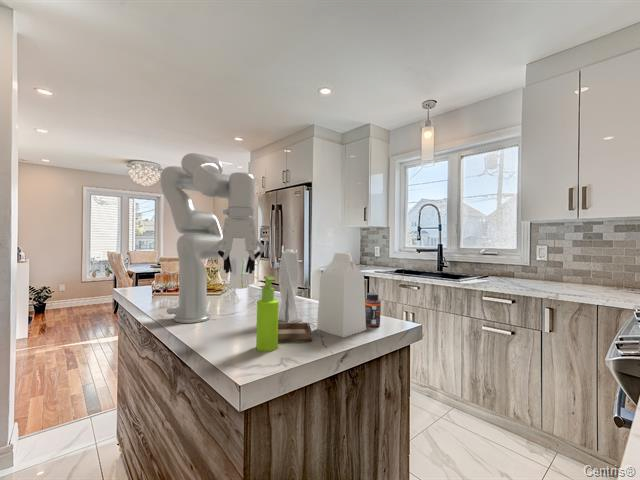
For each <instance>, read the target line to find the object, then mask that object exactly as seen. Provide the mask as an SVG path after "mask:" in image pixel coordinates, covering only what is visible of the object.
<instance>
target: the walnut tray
mask: <svg viewBox="0 0 640 480" xmlns="http://www.w3.org/2000/svg"><path fill="white" fill-rule="evenodd" d="M312 331H313V330H312V328H311V324H310V322H298V323H278V343H302V342H303V343H309V342H313V332H312Z"/></svg>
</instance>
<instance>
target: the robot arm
mask: <svg viewBox="0 0 640 480" xmlns="http://www.w3.org/2000/svg"><path fill="white" fill-rule="evenodd" d="M180 164H181V166H176V165H175V166H174V165H173V166H172V165H171V166H167V167H164V168H163V169H162V170H161V171H160V177H159V178H160V181H159V182H160V188H161V192H162V193H163V197H165V198H164V199H166V201H167V203H168V205H169V207H170V212H171V214H172V219H173V222H174V225H175V229H176V230H177V232H178V233H180V234H181V235H180V236H179V237H178V239H177V241H176V250H177V251H176V252H177V257H178V268H179V269H178V270H179V271H178V272H179V273H178V306H177V307H167V309H166V313H167V314H168V315H175V316H173V321H174V322H177V323H183V324H191V323H201V322H204V321H209V319H211V314H210V313H209V312H207V295H208V294H207V291H208V289H207V288H208V286H207V285H208V283H207V281H208V271H207V268H206V266H205V264H204V263H203V262H202V260H212V259H220V258H222V260H223V270H224V272H225V274H228V273H230V267H229V260H228V251H231V250H232V243H233V238H245V246H246V251H247V252H250V257H251V258H250V261H249V271H248V274H250V275H251V274H253V271H255V266H256V264H255V263H256V259H258V258H259V257H260V255H262V254H263V253H264V252H265V251H266V250H267V248H266V246H264V244H263V243H262V242H261V241H259V239H258V230H257V229H258V228H257V221H256V219H255V218H254V214H255V213H254V210H255V209H254V207H255V204H254V203H255V177H254V175H252V174H251V173H248V172H233V173H232V172H231V174H230V175H229V174H224V173H223V163H222V162H221V160H220V159H218V158H217V157H215V156H210V155H205V154H200V153H196V152H192V153H191V152H190V153H187V154H184V156H183V157H182V159H181V162H180ZM184 190H188V191H195V192H196V191H197V192H199V193H200V194H202V195H203V196H206V197H209V198H217V199H218V198H219V199H227V200H228V201H227V202H228V207H227V208H226V209H223V210H222V213H223V215H226V216H227V217H225V218H224V221H223V228H221V225H220V222H219V219H218V217H217V215H215V214H214V213H213V212H211V211H206V210H205V211H204V210H197V209H196V207H195V206H194V201H193V200H192V198H191V197H190V196H189V194H187V193H186V192H185V191H184ZM257 247H258V248H259V250H258V251H257V252H254V251H255V250H257Z"/></svg>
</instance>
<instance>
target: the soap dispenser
mask: <svg viewBox="0 0 640 480" xmlns="http://www.w3.org/2000/svg"><path fill="white" fill-rule="evenodd" d="M263 279H265V281H264V287H262V289H261V299H258V300H257V301H256V337H255V339H256V342H255V343H256V344H255V348H256V350H257V351H259V352H272V351H276V350H277V349H278V348H279V347H278V346H279V345H278V343H279V342H278V317H279V302H280V301H279V299H275V288H274V287H273V286H272V282H275V281H276V278H275V277H274V276H272V275H265V276H263Z"/></svg>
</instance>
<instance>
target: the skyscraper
mask: <svg viewBox="0 0 640 480" xmlns="http://www.w3.org/2000/svg"><path fill="white" fill-rule="evenodd" d="M299 263H300V262H299V257H298V250H297V249H296V250H295V251H294V249H285V251H284V245H282V246H281V257H280V262H279V268H278V270H279V271H278V286H279V293H280V299H281V303H280V308H279V311H278V323H302V320H300V319H299V316H298V310H297V304H296V298H297V293H298V289H299V283H300V265H299Z"/></svg>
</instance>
